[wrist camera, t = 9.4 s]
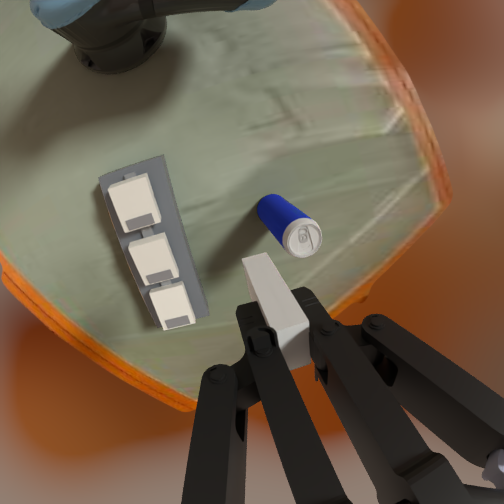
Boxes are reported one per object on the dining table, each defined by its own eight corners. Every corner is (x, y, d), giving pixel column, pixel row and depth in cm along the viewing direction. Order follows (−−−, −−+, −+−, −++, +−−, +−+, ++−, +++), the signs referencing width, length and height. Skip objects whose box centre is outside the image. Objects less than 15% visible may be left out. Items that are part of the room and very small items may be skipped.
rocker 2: (130, 240, 38) (128, 249, 36) (164, 230, 38) (164, 238, 36) (146, 276, 42) (145, 286, 40) (178, 268, 42) (179, 277, 40)
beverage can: (287, 218, 47) (325, 253, 34) (259, 225, 47) (288, 265, 34) (282, 190, 45) (322, 215, 32) (253, 197, 45) (281, 226, 31)
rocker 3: (151, 288, 43) (148, 293, 40) (182, 279, 43) (182, 285, 41) (165, 323, 45) (163, 330, 42) (195, 316, 45) (195, 323, 43)
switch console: (103, 174, 37) (94, 179, 33) (163, 154, 39) (160, 156, 34) (156, 315, 50) (155, 330, 46) (207, 302, 51) (209, 317, 47)
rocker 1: (111, 183, 34) (107, 189, 32) (147, 171, 34) (145, 177, 32) (127, 225, 38) (124, 233, 36) (161, 215, 38) (160, 222, 36)
